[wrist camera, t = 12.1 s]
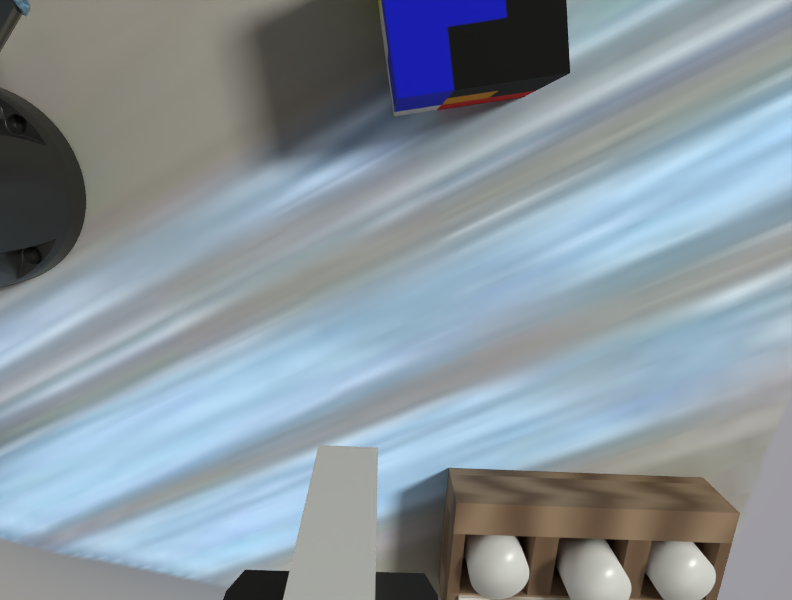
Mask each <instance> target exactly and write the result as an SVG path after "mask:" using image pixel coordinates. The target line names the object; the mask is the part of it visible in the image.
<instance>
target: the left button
mask: <svg viewBox="0 0 792 600" xmlns="http://www.w3.org/2000/svg"><path fill="white" fill-rule="evenodd" d="M464 554H465V559H466V563H467V568H468V573H469V578H470V582H471V585H472V587H473V588H474V590H475V591H476V592H477V593H479V594H480V595H482V596H484V597H486V598H489V599H505V598H509V597H512V596H514V595H515V594H517V593H518V592H520V591H521V590H522V589H523V588H524V586H525V585H526V583H527V581H528V579H529V567H528V564H527V561H526V559H525V556H524V553H523V550H522V548H521V545H520V542H519V539H518V537H517V536H501V535H471V534H465V542H464Z"/></svg>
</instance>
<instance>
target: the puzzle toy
mask: <svg viewBox="0 0 792 600" xmlns="http://www.w3.org/2000/svg"><path fill="white" fill-rule="evenodd" d="M378 7H379V14H380V22H381V29H382V36H383V43H384V50H385V58H386V65H387V72H388V79H389V87H390V94H391V101H392V108H393V116H394V117H395V116H402V115H409V114H415V113H422V112H428V111H435V110H442V109H448V108H455V107H461V106H468V105H475V104H481V103H488V102H494V101H501V100H508V99H514V98H521V97H525V96H526V95H528V94H530V93H532V92H534V91H536V90H538V89H540V88H542V87H544V86H546V85H548V84H550V83H552V82H554V81H555V80H557V79H559V78H561V77H563V76H565V75H567V74H569V73H570V62H569V43H568V24H567V5H566V0H378Z"/></svg>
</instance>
